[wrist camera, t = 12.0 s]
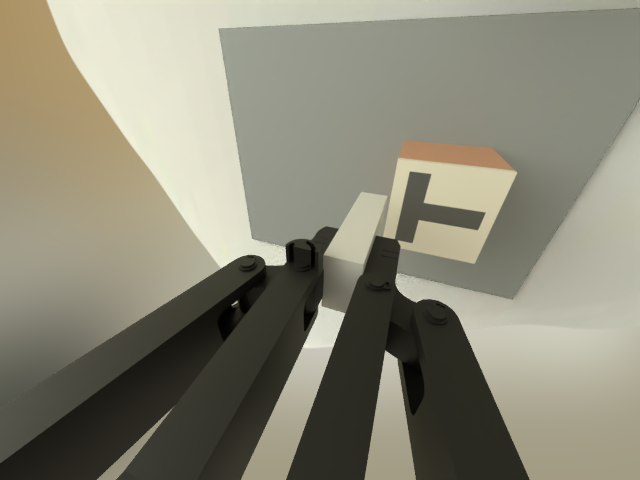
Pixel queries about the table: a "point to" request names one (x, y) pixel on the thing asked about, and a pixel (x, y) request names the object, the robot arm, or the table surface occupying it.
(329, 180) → the mat
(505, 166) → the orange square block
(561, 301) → the table surface
